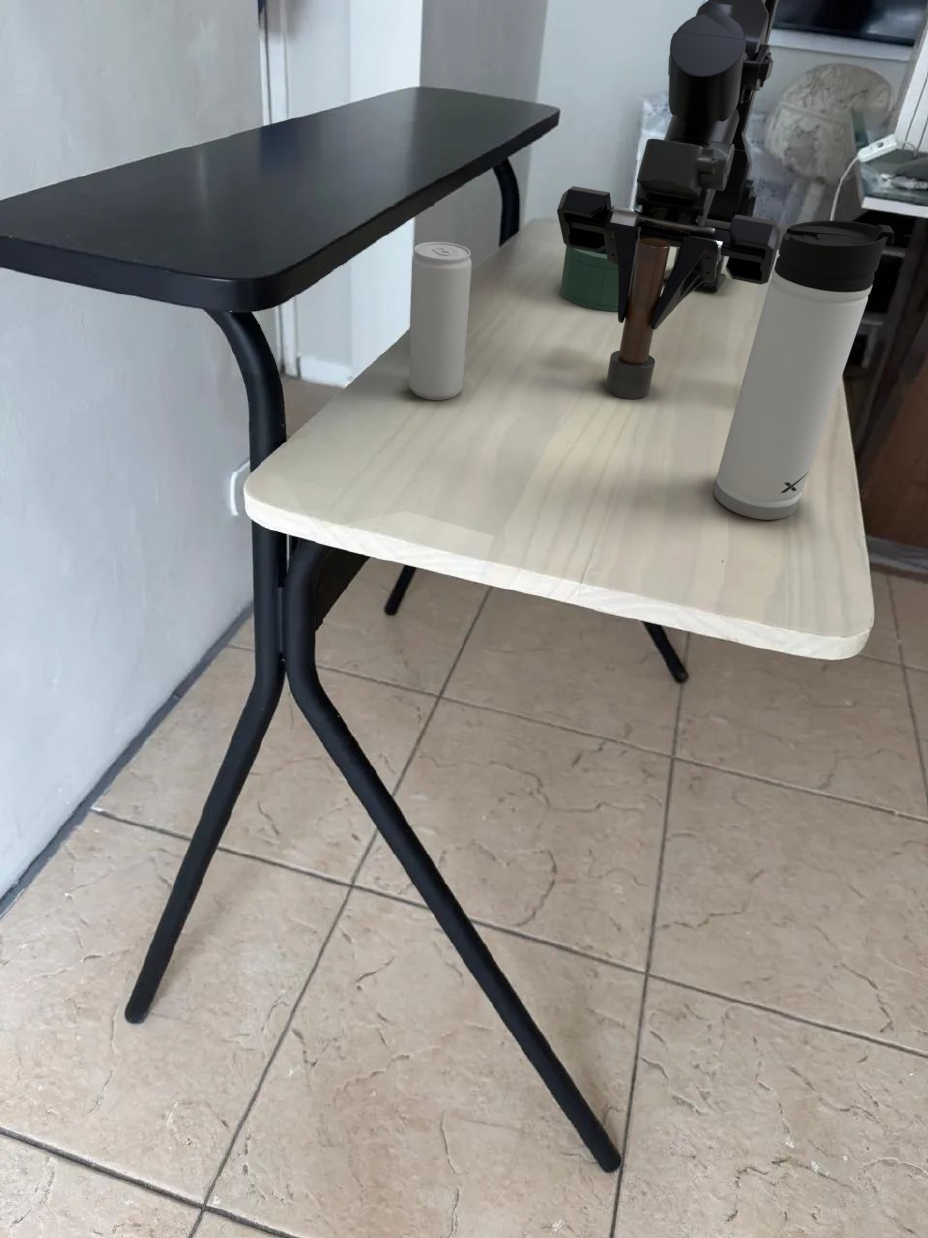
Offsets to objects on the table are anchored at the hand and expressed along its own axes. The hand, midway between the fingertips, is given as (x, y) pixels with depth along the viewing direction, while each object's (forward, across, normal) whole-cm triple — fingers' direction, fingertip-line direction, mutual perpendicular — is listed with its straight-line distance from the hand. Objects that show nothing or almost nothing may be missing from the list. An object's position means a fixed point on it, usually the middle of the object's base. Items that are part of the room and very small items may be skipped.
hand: (636, 323), depth 79 cm
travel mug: (+14, +14, -4) cm, 20 cm away
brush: (+4, 0, +6) cm, 7 cm away
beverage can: (+10, -15, -1) cm, 18 cm away
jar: (-13, -9, +23) cm, 28 cm away
